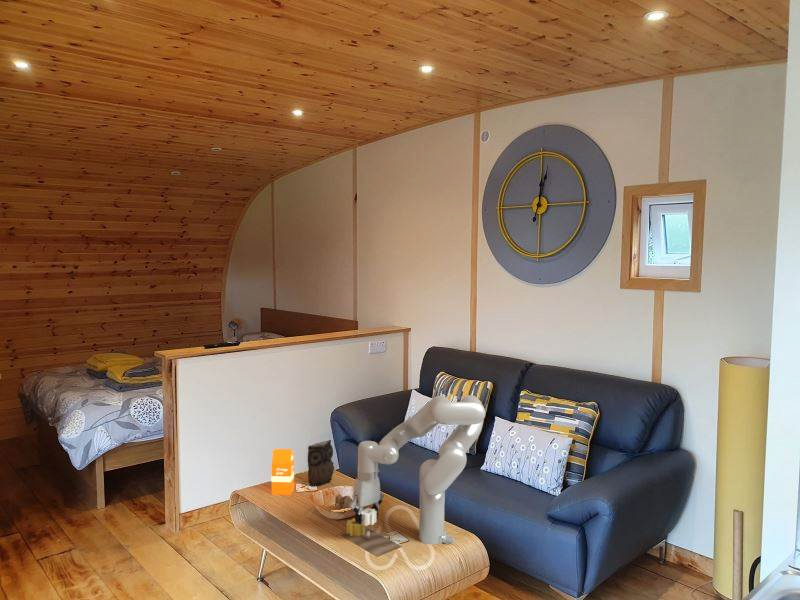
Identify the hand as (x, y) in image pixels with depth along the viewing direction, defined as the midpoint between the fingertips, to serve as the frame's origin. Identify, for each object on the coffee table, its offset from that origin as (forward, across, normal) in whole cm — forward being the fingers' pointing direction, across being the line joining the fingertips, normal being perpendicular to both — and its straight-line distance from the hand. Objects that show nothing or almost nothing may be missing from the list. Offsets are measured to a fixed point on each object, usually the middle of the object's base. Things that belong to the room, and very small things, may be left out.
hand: (366, 519), depth 233 cm
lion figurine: (+9, -9, -28) cm, 31 cm away
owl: (+10, -22, -65) cm, 69 cm away
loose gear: (+1, 0, 0) cm, 1 cm away
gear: (+8, 0, -7) cm, 10 cm away
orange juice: (+10, -2, -64) cm, 65 cm away
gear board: (+9, 0, +1) cm, 9 cm away
